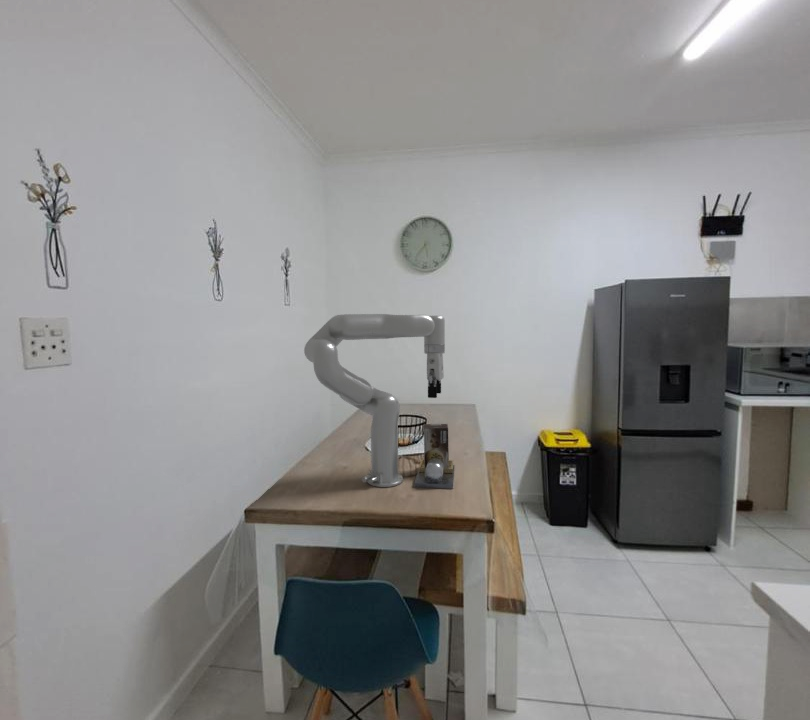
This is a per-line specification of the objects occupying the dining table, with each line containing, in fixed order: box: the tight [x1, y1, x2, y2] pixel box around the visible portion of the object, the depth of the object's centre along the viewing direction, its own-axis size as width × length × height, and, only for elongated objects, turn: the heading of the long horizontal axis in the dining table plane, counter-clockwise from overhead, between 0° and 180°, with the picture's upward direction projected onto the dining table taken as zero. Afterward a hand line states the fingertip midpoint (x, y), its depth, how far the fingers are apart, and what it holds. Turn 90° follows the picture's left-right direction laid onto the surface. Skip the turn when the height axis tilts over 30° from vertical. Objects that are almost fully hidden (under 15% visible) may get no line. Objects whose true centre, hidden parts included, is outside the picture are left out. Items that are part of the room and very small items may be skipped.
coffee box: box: [423, 423, 450, 468], centre depth 157 cm, size 9×6×16 cm
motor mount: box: [414, 458, 455, 490], centre depth 153 cm, size 20×13×8 cm, turn 172°
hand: (434, 395), depth 157 cm, fingers open, 9 cm apart
